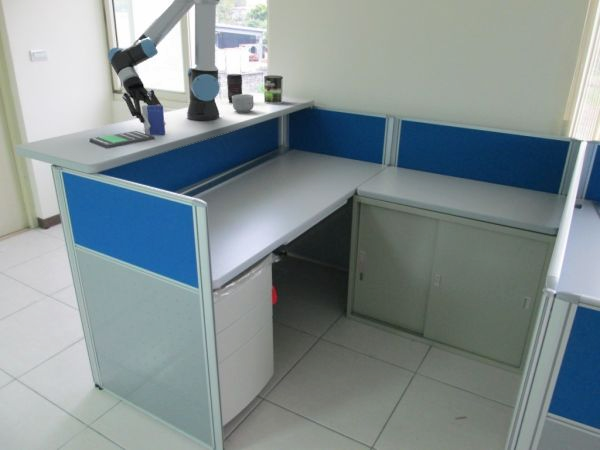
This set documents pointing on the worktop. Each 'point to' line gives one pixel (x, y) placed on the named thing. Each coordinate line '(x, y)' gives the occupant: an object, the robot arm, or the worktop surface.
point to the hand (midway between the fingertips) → (156, 127)
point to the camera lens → (234, 85)
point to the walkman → (154, 119)
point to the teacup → (242, 102)
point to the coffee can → (273, 89)
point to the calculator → (121, 139)
